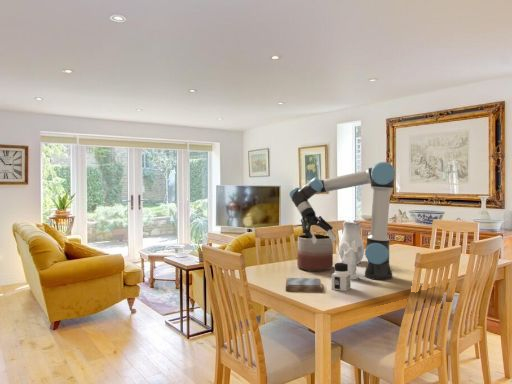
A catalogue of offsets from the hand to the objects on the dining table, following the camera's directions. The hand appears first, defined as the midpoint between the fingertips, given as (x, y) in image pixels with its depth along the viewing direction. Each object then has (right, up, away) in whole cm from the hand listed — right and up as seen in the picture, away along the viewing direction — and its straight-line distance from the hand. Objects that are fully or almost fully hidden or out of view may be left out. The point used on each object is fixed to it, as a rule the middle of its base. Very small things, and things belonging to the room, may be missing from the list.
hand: (325, 241), depth 210 cm
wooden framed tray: (-12, -23, -6) cm, 27 cm away
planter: (0, -22, +39) cm, 45 cm away
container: (+7, -23, -8) cm, 26 cm away
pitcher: (+28, -21, +61) cm, 70 cm away
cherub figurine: (+18, -22, +15) cm, 32 cm away
